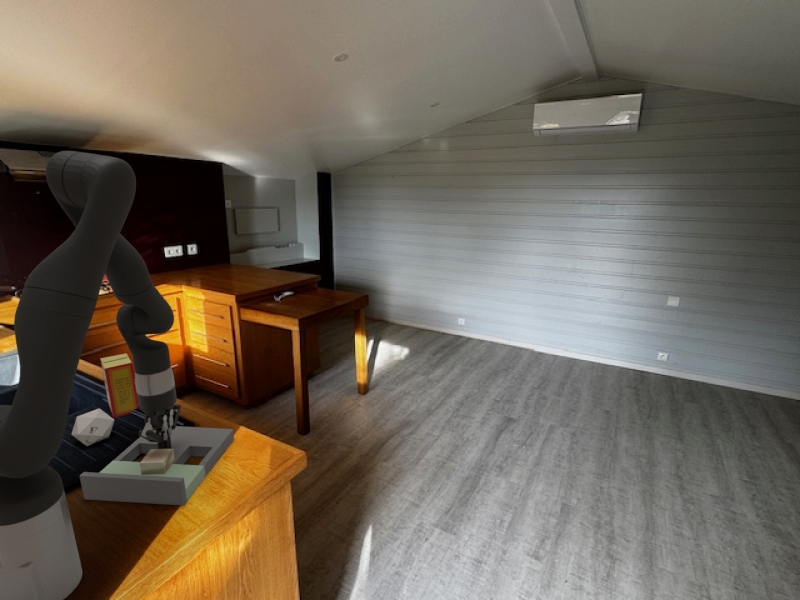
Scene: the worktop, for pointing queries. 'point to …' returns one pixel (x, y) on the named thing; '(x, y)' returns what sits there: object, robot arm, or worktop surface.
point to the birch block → (157, 461)
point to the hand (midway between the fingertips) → (165, 451)
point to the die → (92, 427)
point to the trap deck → (168, 488)
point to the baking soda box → (119, 384)
